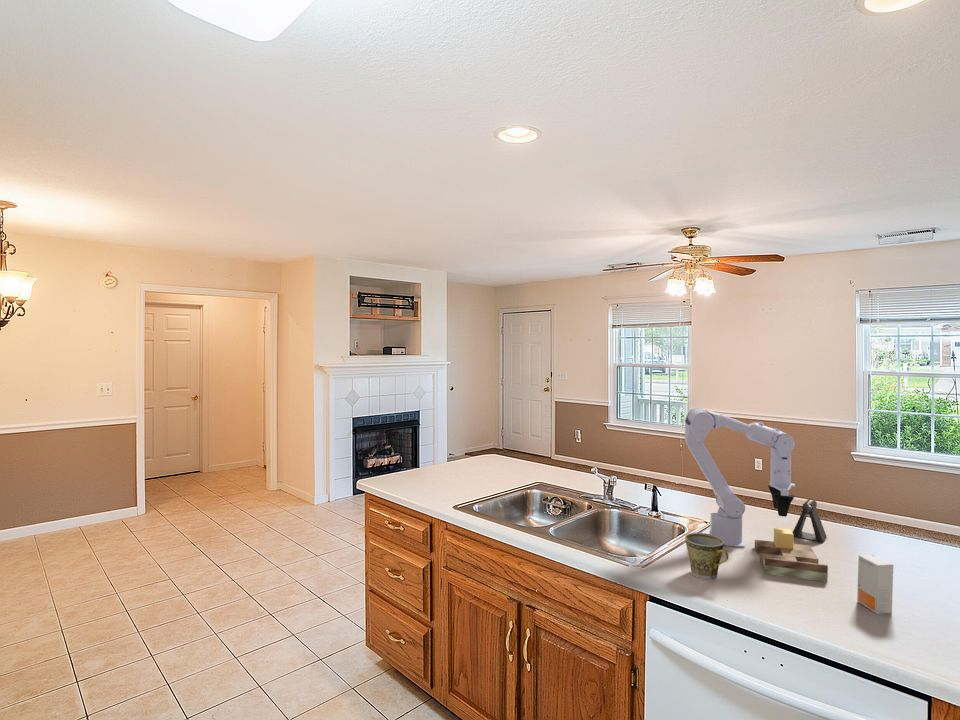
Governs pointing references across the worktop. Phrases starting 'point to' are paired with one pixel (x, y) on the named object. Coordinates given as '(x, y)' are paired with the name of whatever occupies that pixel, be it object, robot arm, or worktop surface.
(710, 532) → the robot arm
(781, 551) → the box
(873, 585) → the skincare box
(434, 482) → the worktop surface
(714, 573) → the ceramic cup
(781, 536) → the block
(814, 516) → the phone stand
